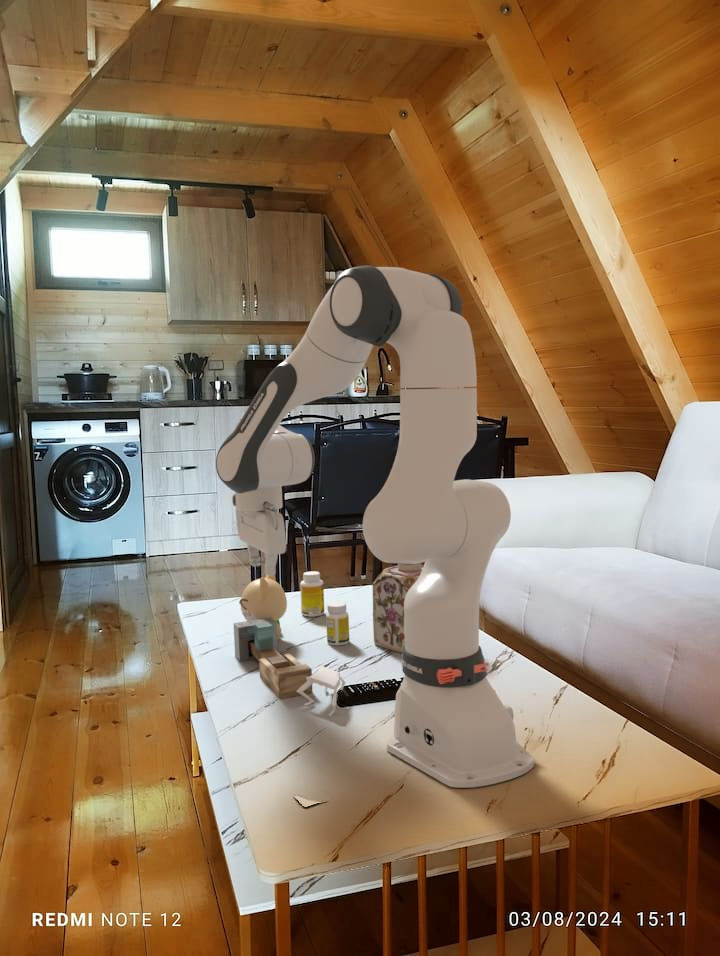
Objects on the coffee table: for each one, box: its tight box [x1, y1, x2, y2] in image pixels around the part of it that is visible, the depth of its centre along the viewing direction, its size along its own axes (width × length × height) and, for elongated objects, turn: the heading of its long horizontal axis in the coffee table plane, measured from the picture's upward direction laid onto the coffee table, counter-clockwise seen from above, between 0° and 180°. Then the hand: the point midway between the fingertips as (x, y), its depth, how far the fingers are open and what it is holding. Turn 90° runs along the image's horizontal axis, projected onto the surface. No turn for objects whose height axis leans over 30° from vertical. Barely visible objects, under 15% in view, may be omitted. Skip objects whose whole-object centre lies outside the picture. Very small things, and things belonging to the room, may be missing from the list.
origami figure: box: [296, 665, 346, 717], centre depth 132 cm, size 12×8×5 cm
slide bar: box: [248, 622, 288, 669], centre depth 152 cm, size 16×3×7 cm, turn 24°
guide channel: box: [258, 653, 313, 700], centre depth 142 cm, size 12×6×4 cm, turn 24°
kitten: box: [239, 574, 288, 641], centre depth 169 cm, size 15×10×15 cm
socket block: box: [233, 618, 279, 662], centre depth 159 cm, size 4×8×7 cm, turn 114°
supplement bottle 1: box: [299, 570, 325, 618], centre depth 188 cm, size 6×6×10 cm
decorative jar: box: [372, 562, 424, 654], centre depth 162 cm, size 12×12×18 cm
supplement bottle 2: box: [325, 601, 350, 646], centre depth 166 cm, size 5×5×8 cm
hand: (262, 570), depth 152 cm, fingers open, 8 cm apart
